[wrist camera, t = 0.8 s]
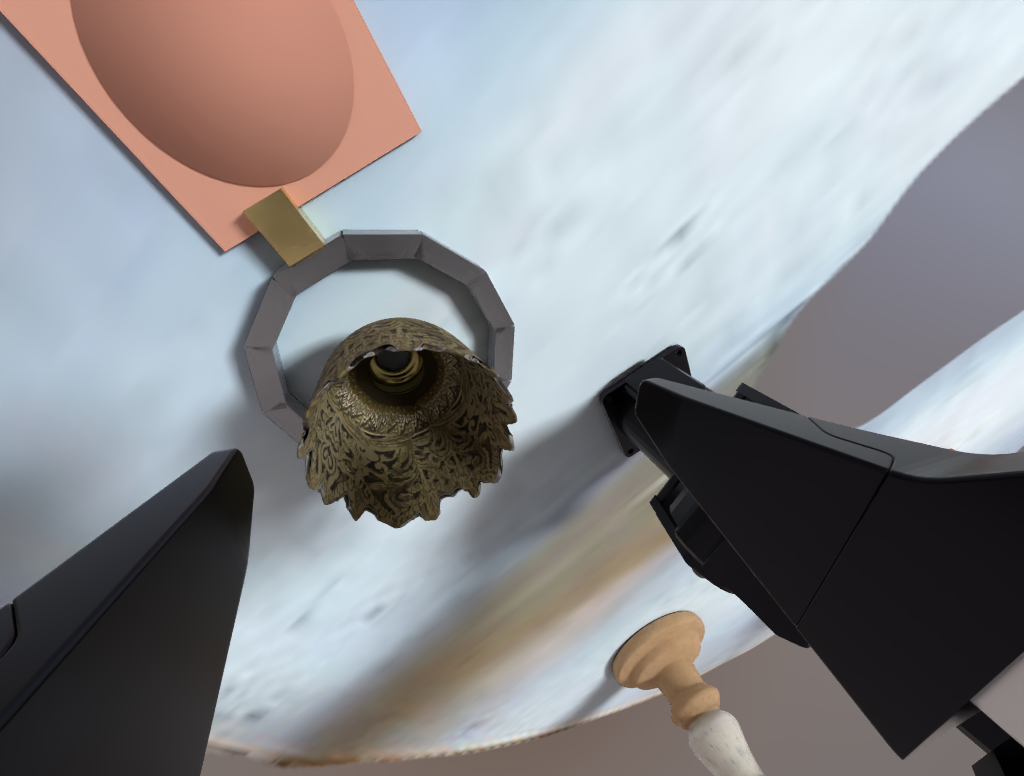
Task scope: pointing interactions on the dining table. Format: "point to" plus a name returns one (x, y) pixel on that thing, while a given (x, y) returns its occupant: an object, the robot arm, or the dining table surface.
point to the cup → (404, 423)
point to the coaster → (227, 93)
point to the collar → (322, 257)
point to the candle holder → (686, 691)
